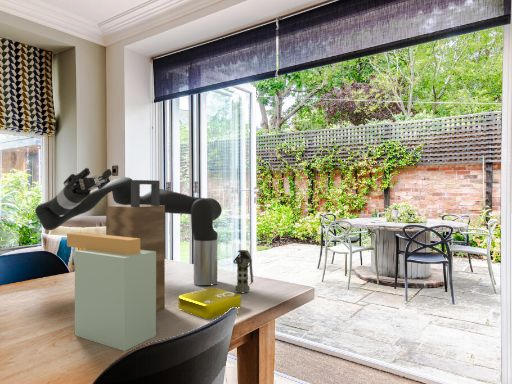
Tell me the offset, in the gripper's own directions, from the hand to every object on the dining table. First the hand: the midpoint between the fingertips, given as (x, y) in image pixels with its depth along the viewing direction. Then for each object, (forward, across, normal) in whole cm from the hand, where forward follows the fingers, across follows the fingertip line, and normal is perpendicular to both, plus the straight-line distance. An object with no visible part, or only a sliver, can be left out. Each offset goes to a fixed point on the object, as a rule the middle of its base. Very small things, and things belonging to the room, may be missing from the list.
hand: (99, 170), depth 123 cm
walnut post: (-5, -2, +47) cm, 47 cm away
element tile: (+10, +11, +56) cm, 59 cm away
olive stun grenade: (+12, +30, +56) cm, 65 cm away
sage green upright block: (+4, -18, +52) cm, 55 cm away
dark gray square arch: (+15, -2, +21) cm, 26 cm away
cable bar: (+10, -18, +31) cm, 37 cm away
